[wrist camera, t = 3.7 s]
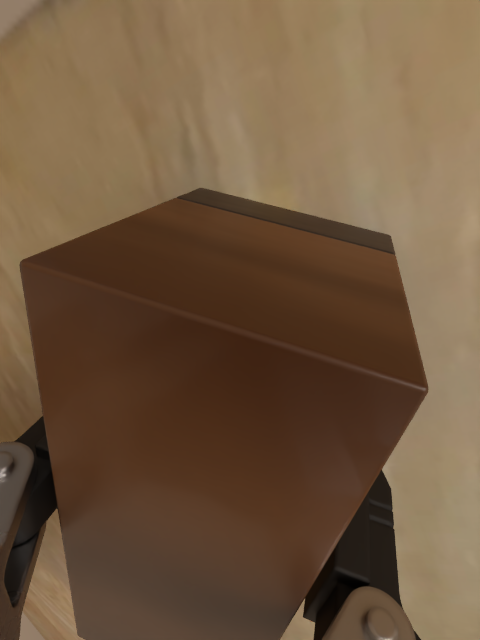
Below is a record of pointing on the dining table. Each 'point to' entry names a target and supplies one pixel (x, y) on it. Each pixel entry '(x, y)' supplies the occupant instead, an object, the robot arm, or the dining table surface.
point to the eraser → (215, 408)
